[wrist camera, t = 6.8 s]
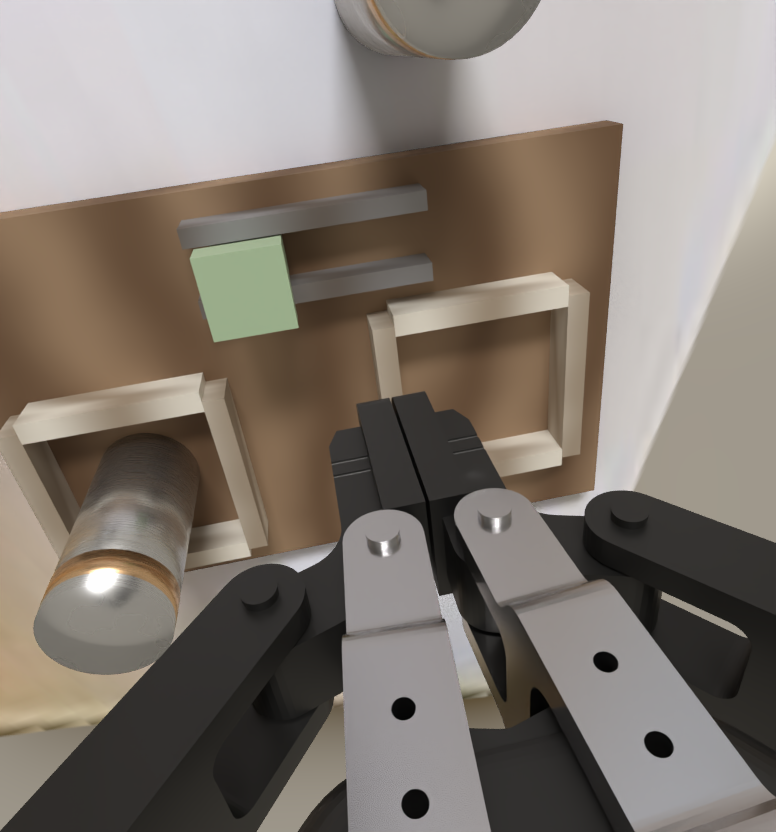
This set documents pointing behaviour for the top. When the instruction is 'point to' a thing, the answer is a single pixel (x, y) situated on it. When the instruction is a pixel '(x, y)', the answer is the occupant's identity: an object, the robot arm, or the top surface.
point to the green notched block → (245, 287)
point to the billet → (434, 25)
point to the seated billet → (123, 560)
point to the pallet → (315, 327)
